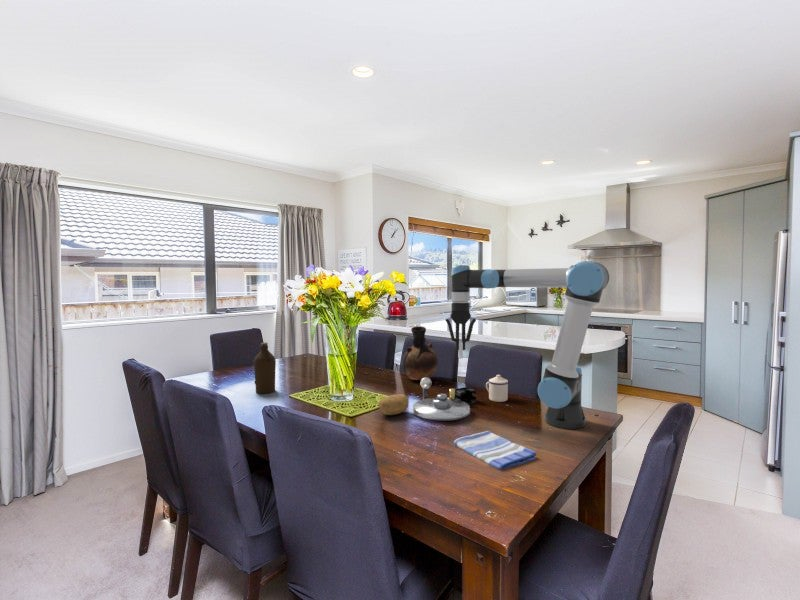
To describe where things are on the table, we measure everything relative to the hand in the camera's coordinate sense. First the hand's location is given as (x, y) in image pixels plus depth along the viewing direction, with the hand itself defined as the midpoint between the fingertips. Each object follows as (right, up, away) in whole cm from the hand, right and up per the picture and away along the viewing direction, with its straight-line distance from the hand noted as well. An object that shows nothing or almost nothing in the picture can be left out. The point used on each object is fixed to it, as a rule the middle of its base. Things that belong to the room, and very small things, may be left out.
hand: (460, 357), depth 178 cm
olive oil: (-94, -23, +37) cm, 104 cm away
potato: (-28, -25, +1) cm, 37 cm away
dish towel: (+6, -27, -36) cm, 45 cm away
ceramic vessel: (-14, -21, +60) cm, 65 cm away
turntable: (-8, -23, +2) cm, 24 cm away
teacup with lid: (+20, -23, +23) cm, 38 cm away
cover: (-8, -21, +1) cm, 22 cm away
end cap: (+4, -23, +18) cm, 30 cm away
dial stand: (-14, -23, +16) cm, 31 cm away
